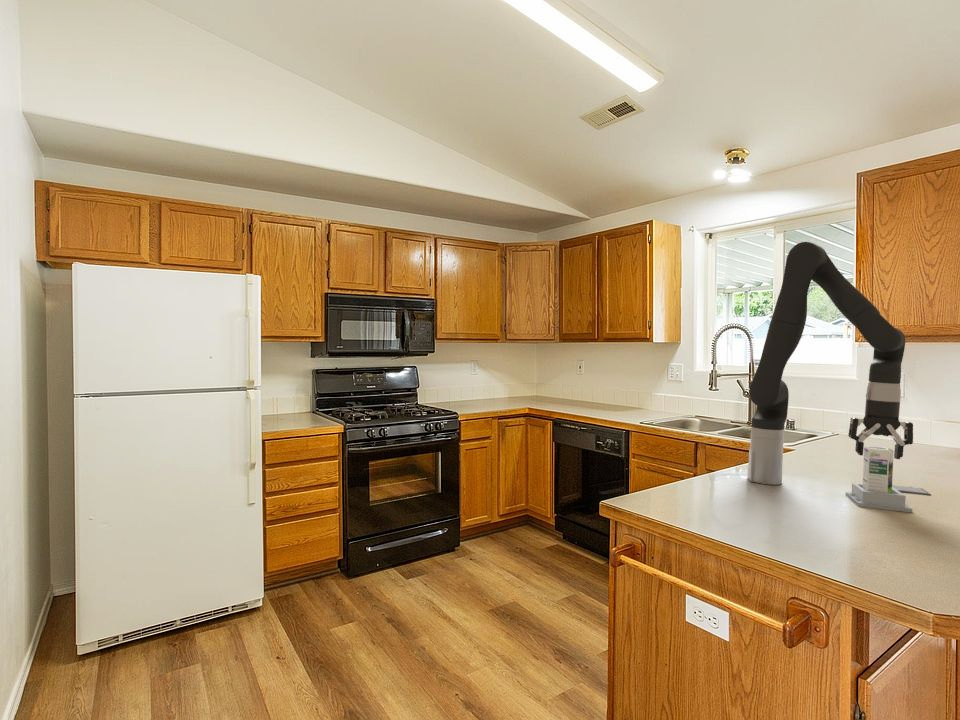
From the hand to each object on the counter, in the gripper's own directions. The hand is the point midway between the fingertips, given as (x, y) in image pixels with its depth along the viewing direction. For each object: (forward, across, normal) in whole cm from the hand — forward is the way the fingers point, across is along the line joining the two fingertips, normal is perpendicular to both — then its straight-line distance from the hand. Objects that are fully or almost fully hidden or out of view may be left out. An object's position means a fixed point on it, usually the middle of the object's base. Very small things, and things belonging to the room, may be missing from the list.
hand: (878, 456), depth 147 cm
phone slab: (+14, +12, +21) cm, 28 cm away
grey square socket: (+13, 0, 0) cm, 13 cm away
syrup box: (+12, 0, 0) cm, 12 cm away
